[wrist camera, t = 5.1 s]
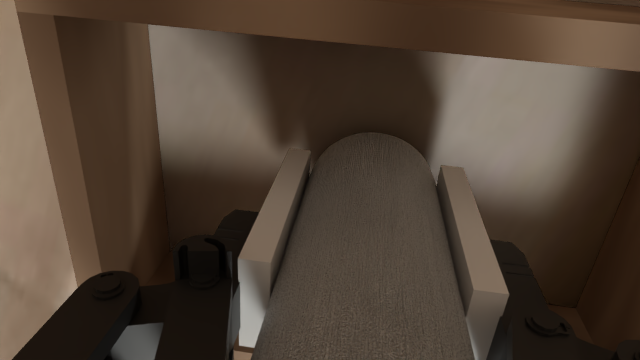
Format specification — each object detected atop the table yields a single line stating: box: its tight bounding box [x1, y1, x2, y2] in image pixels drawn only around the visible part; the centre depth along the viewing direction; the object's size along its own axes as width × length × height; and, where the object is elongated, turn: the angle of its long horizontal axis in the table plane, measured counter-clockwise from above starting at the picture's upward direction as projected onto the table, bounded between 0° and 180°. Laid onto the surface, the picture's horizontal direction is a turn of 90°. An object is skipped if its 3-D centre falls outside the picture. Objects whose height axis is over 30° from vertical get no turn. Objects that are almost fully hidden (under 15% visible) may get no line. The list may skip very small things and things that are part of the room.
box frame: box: [14, 0, 640, 360], centre depth 16 cm, size 20×13×5 cm, turn 86°
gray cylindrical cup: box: [251, 132, 475, 360], centre depth 12 cm, size 4×4×10 cm
